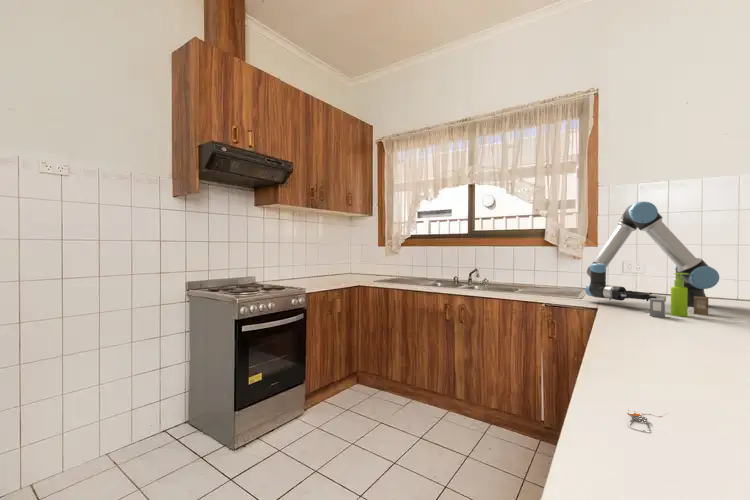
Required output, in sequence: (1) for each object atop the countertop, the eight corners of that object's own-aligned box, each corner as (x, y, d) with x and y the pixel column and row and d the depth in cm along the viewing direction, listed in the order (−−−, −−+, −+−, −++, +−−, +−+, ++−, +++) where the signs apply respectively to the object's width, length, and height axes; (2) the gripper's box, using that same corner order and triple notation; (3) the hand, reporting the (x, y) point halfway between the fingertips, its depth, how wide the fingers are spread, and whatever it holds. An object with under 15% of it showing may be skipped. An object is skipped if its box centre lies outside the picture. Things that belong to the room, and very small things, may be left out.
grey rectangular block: (650, 314, 164) (650, 298, 164) (664, 316, 161) (664, 299, 161) (650, 316, 161) (650, 299, 161) (664, 317, 157) (664, 300, 157)
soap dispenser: (693, 316, 160) (693, 273, 160) (677, 316, 160) (678, 273, 160) (682, 314, 166) (682, 272, 166) (667, 314, 166) (667, 272, 166)
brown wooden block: (693, 312, 170) (693, 296, 170) (707, 313, 166) (707, 297, 166) (693, 314, 166) (693, 297, 166) (708, 315, 162) (708, 298, 162)
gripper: (623, 299, 193) (673, 305, 171) (607, 300, 188) (656, 307, 166) (623, 285, 193) (673, 290, 171) (607, 286, 188) (656, 291, 166)
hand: (665, 298), depth 168 cm, fingers closed
